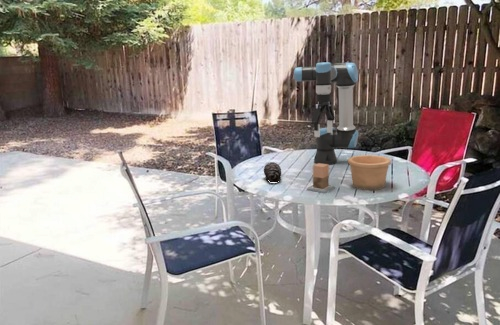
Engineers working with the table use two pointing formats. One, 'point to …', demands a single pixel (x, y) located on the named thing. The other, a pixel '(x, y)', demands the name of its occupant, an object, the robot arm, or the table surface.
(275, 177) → the pine cone
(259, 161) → the table surface
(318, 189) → the pad
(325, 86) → the robot arm
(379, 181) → the pottery
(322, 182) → the walnut cube
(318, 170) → the terracotta cube
